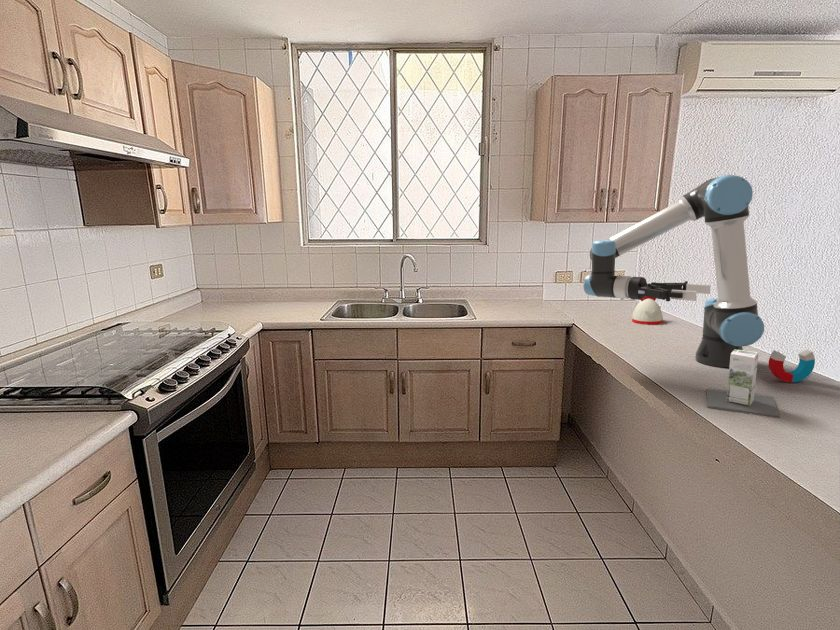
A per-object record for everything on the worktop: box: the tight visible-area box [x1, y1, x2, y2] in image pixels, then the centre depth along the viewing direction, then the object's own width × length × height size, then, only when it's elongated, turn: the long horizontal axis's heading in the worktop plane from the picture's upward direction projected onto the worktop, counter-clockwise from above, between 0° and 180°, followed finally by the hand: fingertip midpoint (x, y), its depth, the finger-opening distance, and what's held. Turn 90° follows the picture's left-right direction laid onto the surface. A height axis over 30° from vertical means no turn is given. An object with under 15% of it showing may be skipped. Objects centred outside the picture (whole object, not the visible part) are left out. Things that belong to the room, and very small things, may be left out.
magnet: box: [768, 349, 816, 383], centre depth 142 cm, size 12×3×10 cm, turn 84°
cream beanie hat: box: [631, 296, 664, 326], centre depth 227 cm, size 14×14×15 cm
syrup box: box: [726, 349, 759, 406], centre depth 128 cm, size 6×6×14 cm
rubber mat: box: [706, 388, 780, 418], centre depth 129 cm, size 14×16×1 cm
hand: (703, 292), depth 137 cm, fingers open, 13 cm apart
